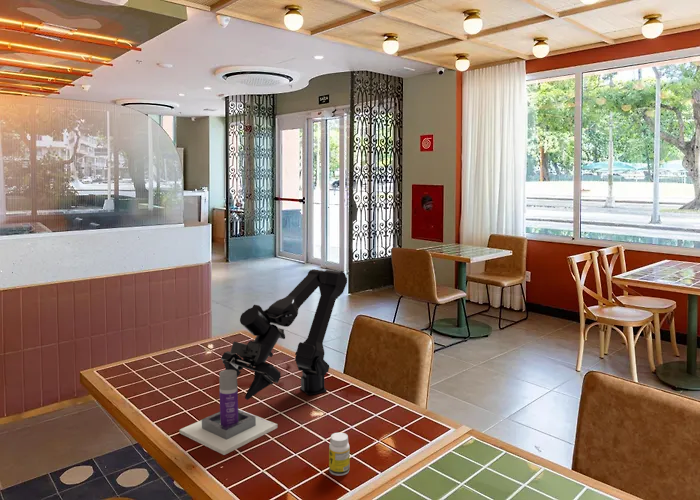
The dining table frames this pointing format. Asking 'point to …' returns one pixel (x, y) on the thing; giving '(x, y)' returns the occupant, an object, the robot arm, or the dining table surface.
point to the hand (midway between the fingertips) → (234, 394)
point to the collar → (227, 432)
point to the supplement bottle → (339, 454)
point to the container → (228, 397)
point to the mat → (232, 443)
